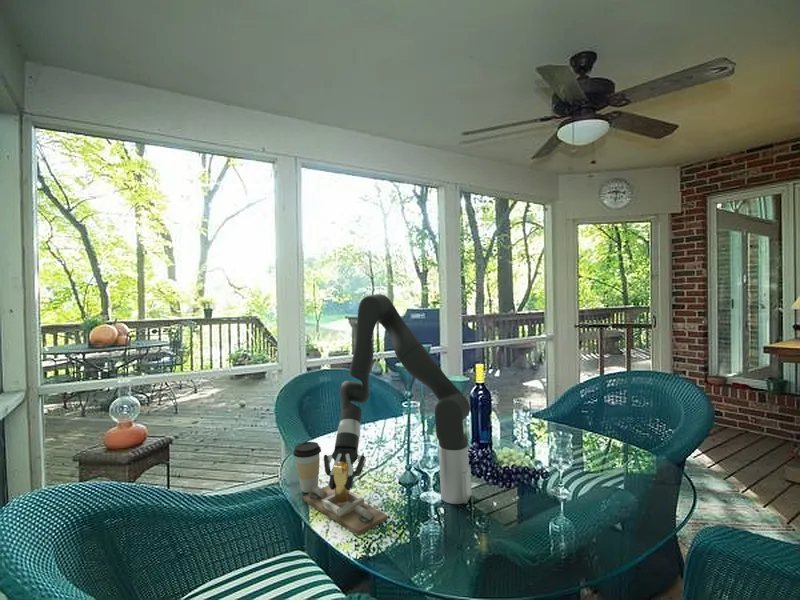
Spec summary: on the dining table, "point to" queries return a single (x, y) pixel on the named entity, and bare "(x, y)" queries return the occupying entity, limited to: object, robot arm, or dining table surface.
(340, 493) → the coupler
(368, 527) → the clamping jig board
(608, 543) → the dining table surface
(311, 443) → the coffee cup
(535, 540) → the dining table surface
